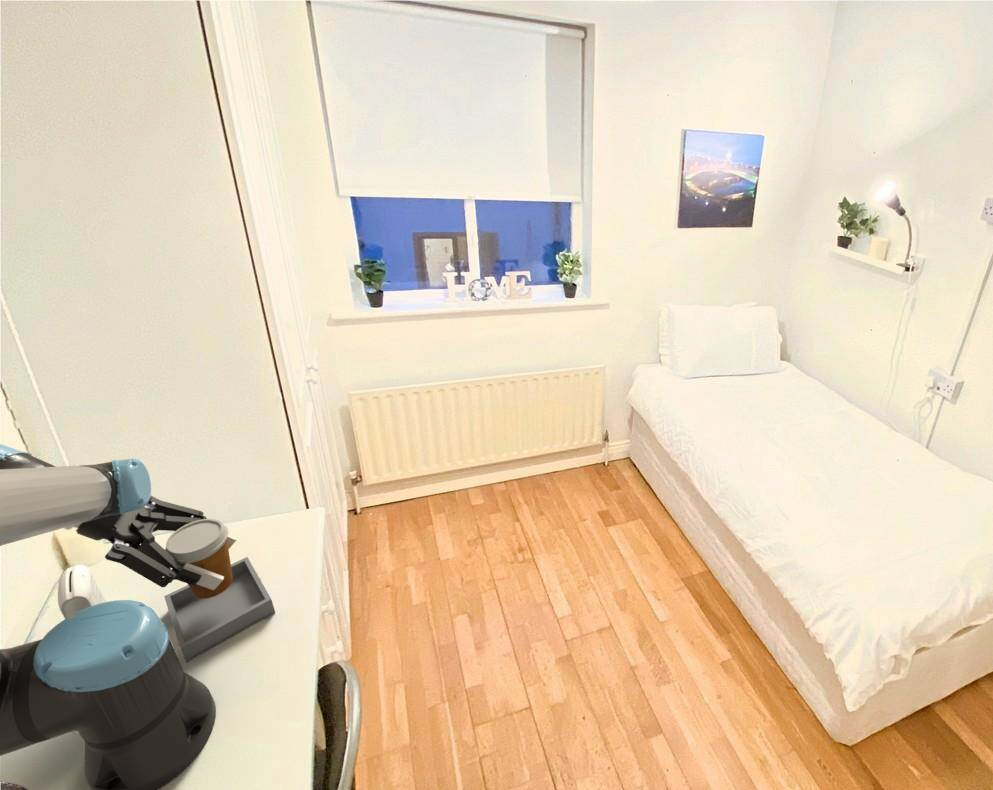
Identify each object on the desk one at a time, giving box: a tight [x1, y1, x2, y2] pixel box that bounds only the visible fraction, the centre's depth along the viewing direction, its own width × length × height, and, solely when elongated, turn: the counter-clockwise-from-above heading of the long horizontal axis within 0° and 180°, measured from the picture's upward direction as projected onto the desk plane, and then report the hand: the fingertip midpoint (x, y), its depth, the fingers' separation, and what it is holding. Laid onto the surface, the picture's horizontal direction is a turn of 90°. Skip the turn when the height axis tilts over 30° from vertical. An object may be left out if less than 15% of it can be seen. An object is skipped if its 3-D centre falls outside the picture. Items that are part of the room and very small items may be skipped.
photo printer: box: [57, 564, 107, 620], centre depth 81 cm, size 10×4×12 cm, turn 39°
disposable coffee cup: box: [164, 518, 233, 598], centre depth 82 cm, size 10×10×12 cm
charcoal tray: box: [163, 556, 276, 663], centre depth 85 cm, size 15×15×4 cm
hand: (226, 562), depth 83 cm, fingers closed on disposable coffee cup, 9 cm apart
